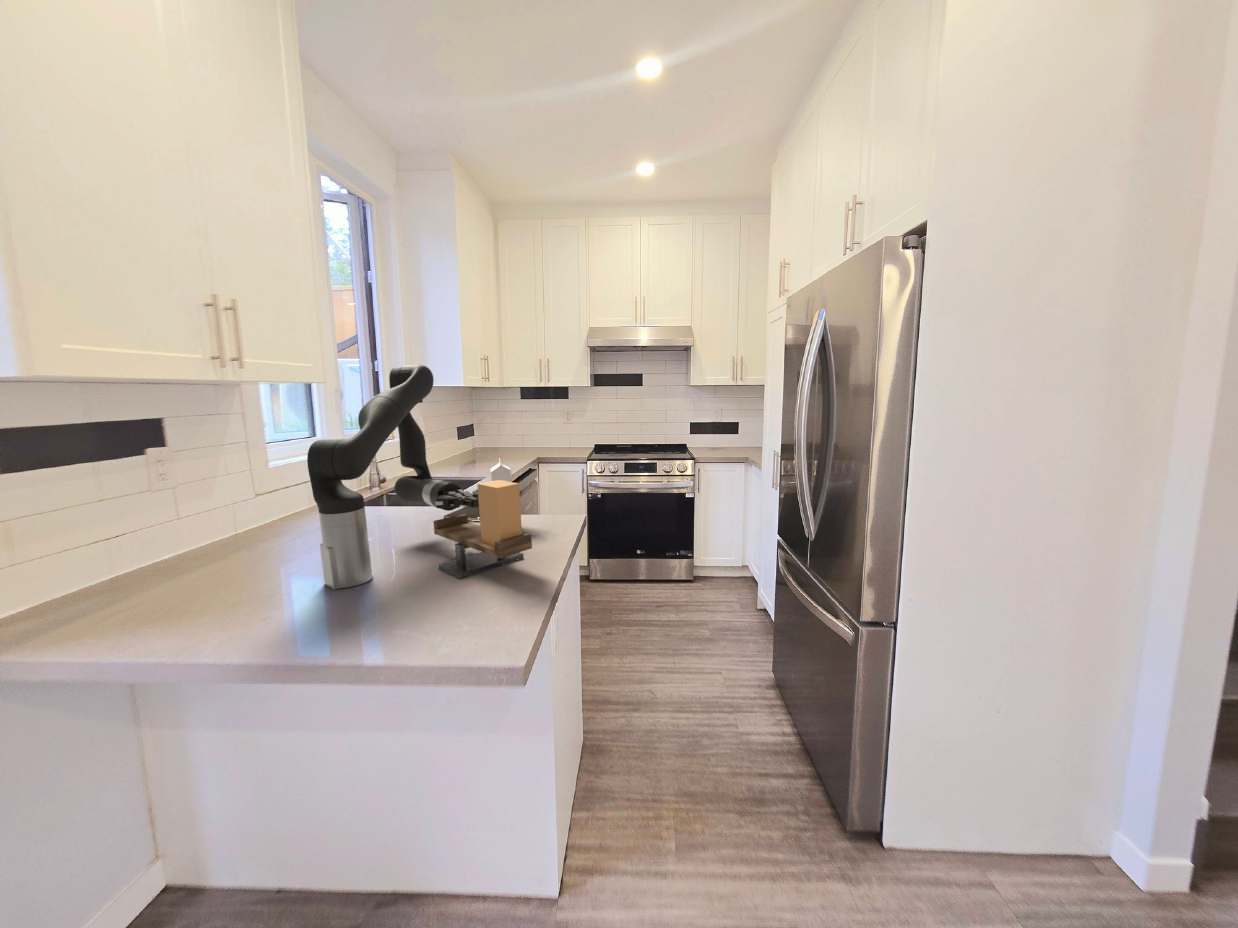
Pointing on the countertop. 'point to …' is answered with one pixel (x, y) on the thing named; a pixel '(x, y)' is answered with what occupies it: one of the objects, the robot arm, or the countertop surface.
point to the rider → (499, 510)
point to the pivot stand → (474, 562)
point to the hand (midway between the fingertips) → (476, 503)
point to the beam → (479, 537)
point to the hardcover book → (469, 511)
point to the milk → (501, 472)
